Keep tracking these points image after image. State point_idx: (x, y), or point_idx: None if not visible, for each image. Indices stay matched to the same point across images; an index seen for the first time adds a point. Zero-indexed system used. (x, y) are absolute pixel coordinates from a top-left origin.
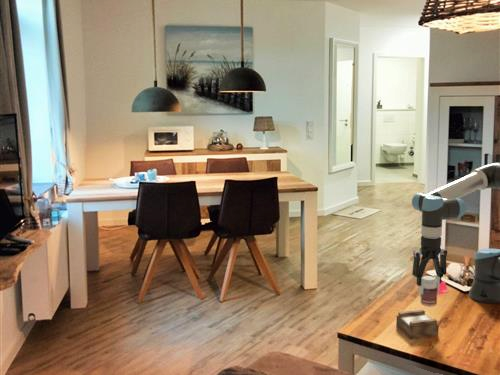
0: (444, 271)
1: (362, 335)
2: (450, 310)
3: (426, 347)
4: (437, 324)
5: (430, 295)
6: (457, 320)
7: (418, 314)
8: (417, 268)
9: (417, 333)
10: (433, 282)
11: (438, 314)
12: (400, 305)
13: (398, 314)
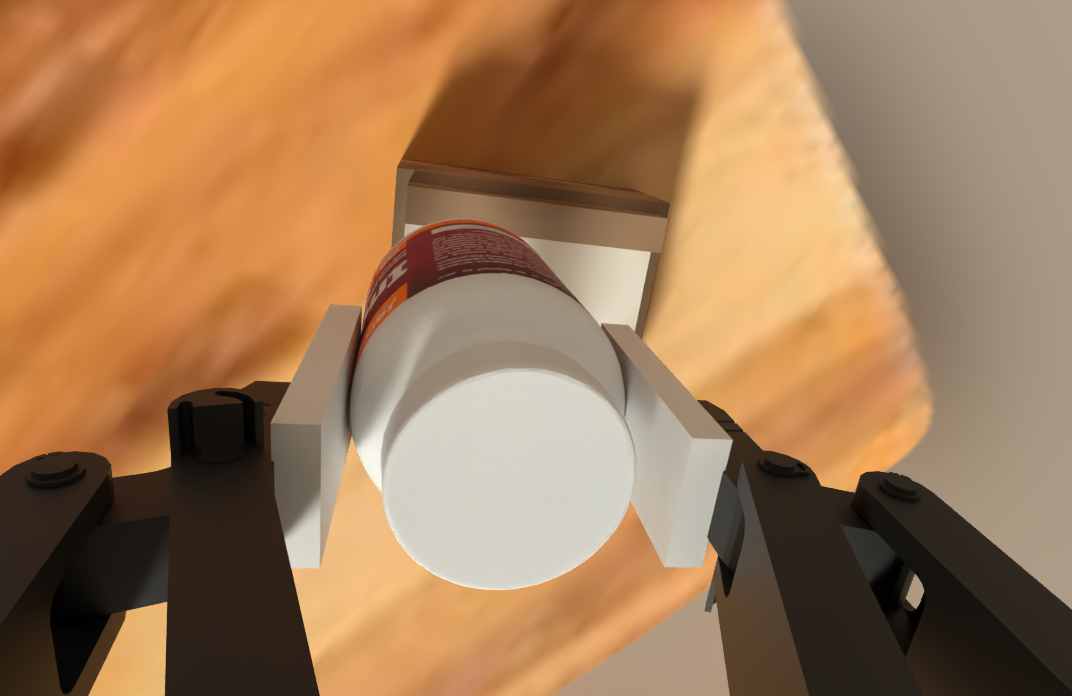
0: (53, 504)
1: (872, 354)
2: None
3: (611, 23)
4: (410, 170)
5: (524, 257)
6: (60, 354)
7: None
8: (1049, 625)
9: (590, 188)
10: (474, 348)
11: None
12: (364, 671)
13: None
